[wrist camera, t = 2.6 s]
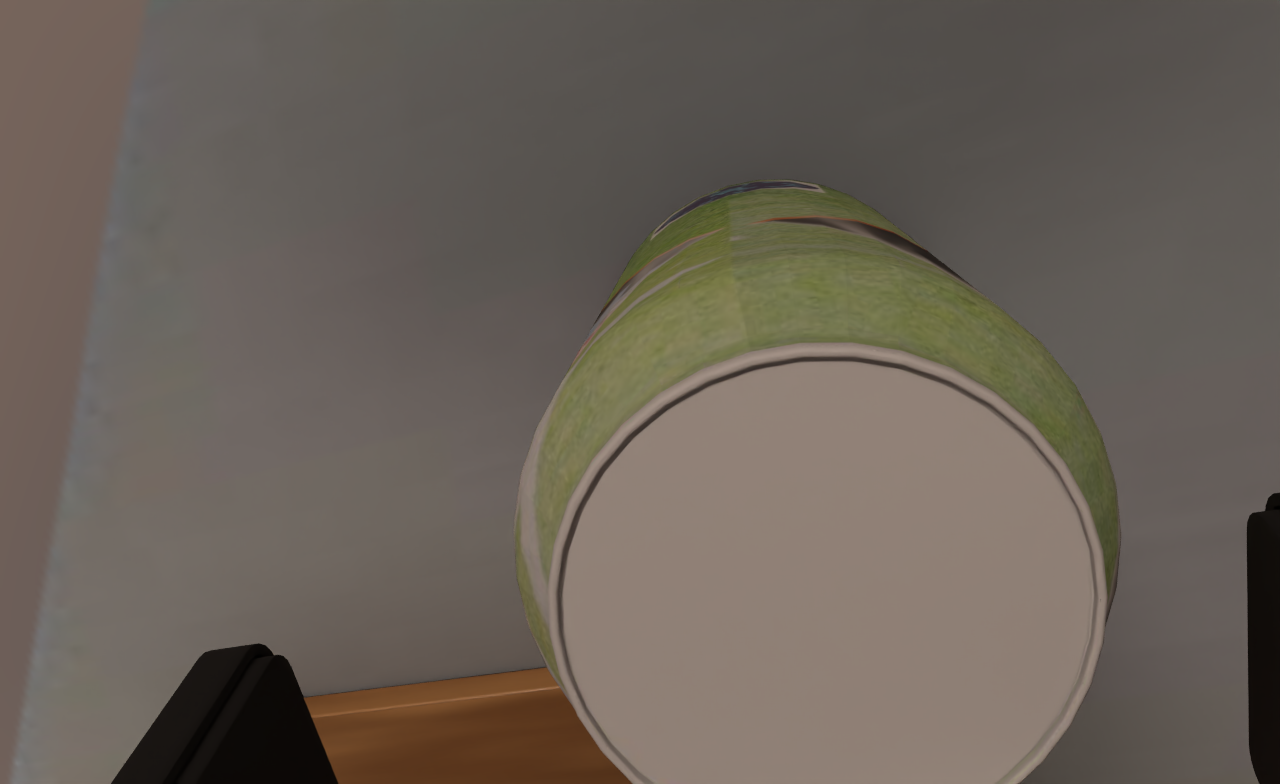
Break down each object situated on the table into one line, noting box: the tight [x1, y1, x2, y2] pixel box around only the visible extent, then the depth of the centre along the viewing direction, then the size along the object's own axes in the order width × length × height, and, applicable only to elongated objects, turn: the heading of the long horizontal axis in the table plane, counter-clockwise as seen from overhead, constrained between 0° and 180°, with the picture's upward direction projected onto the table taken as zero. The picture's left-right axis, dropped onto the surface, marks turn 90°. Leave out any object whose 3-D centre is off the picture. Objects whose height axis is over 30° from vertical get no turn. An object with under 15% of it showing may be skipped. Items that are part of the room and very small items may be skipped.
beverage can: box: [514, 180, 1121, 784], centre depth 15 cm, size 6×7×12 cm
